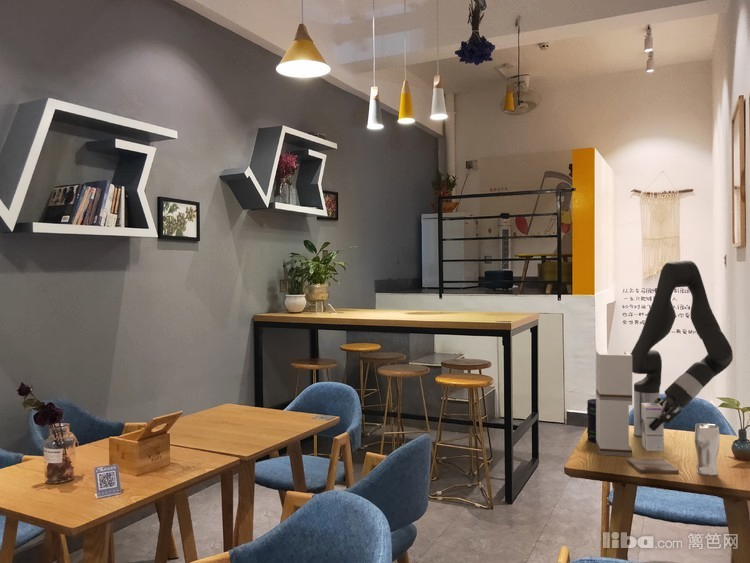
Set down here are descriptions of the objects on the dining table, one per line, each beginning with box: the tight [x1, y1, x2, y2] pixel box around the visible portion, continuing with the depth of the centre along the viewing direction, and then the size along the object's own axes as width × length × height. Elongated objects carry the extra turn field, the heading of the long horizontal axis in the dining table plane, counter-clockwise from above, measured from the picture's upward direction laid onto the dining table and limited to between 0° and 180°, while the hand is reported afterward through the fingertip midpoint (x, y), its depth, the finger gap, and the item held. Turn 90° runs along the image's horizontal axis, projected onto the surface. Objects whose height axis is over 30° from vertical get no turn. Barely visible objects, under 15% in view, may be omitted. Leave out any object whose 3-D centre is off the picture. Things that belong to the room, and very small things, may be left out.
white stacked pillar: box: [595, 350, 633, 457], centre depth 221 cm, size 11×11×35 cm
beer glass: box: [694, 422, 720, 477], centre depth 196 cm, size 7×7×15 cm
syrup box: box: [641, 403, 665, 452], centre depth 202 cm, size 6×6×14 cm
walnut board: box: [626, 458, 680, 474], centre depth 202 cm, size 12×12×1 cm
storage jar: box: [586, 398, 596, 444], centre depth 234 cm, size 10×10×15 cm
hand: (647, 426), depth 202 cm, fingers closed on syrup box, 6 cm apart
